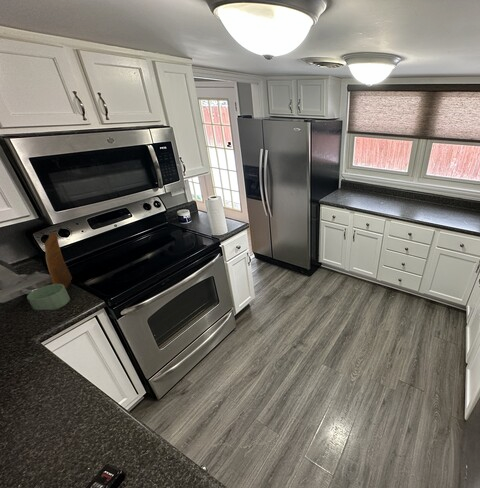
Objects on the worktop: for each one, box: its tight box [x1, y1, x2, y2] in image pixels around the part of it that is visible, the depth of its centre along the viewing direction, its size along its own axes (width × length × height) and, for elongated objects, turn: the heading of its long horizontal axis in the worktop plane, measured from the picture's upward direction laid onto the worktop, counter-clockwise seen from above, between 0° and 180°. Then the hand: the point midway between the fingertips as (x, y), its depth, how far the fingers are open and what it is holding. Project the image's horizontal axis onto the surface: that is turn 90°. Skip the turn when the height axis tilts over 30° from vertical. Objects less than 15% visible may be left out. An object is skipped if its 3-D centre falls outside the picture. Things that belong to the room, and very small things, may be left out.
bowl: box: [26, 283, 71, 311], centre depth 125 cm, size 13×13×8 cm
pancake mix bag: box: [43, 231, 73, 290], centre depth 136 cm, size 7×19×28 cm, turn 26°
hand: (34, 291), depth 127 cm, fingers closed
